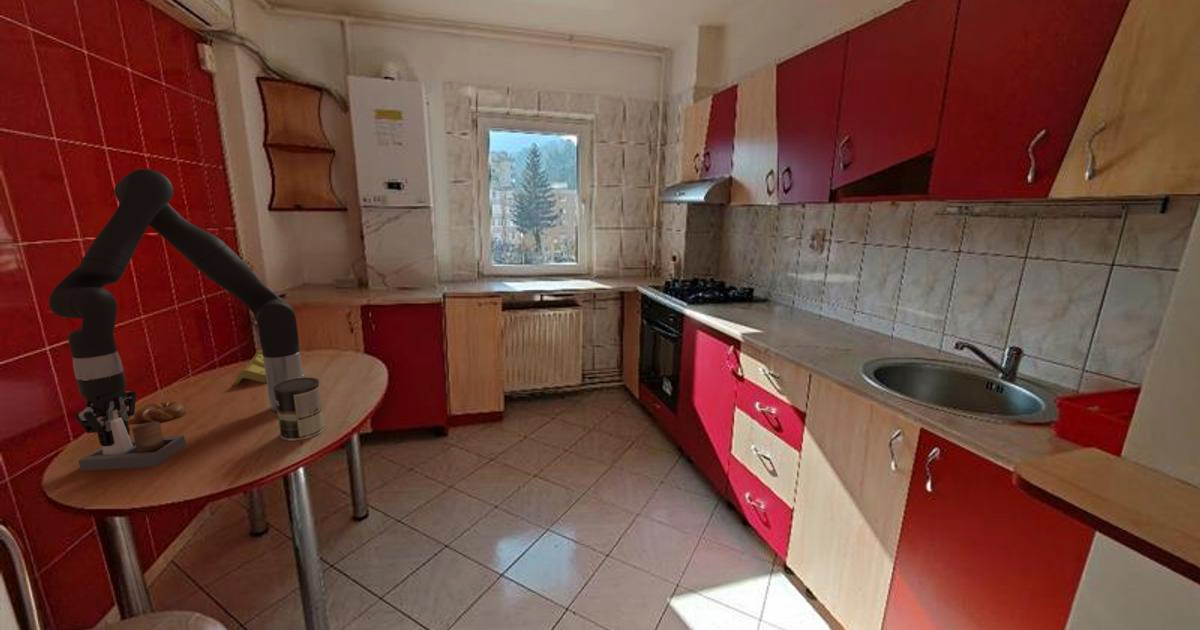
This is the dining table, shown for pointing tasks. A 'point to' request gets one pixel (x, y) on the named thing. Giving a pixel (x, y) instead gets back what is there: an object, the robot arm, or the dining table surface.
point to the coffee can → (299, 408)
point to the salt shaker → (117, 436)
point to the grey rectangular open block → (132, 456)
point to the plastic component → (254, 370)
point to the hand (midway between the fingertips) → (116, 440)
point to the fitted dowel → (148, 437)
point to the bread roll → (159, 412)
